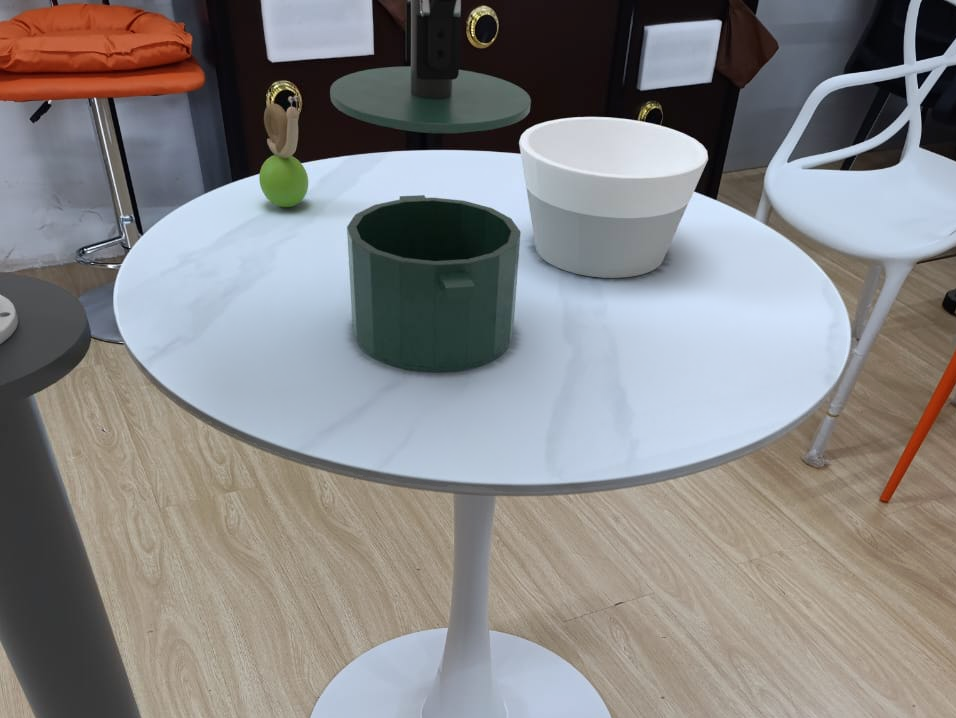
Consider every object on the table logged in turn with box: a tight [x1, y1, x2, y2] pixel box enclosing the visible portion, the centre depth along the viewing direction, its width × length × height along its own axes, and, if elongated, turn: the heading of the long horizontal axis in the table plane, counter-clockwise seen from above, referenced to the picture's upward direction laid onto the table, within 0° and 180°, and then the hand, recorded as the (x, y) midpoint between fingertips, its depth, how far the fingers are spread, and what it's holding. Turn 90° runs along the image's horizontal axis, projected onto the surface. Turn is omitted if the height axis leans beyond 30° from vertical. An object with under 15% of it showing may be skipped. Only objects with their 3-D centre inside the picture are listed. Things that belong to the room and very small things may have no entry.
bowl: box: [518, 116, 709, 279], centre depth 97 cm, size 19×19×11 cm
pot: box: [346, 194, 522, 373], centre depth 82 cm, size 15×20×10 cm
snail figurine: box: [258, 94, 309, 208], centre depth 101 cm, size 5×6×12 cm
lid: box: [329, 0, 532, 134], centre depth 69 cm, size 16×16×8 cm
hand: (431, 68), depth 70 cm, fingers closed on lid, 3 cm apart
